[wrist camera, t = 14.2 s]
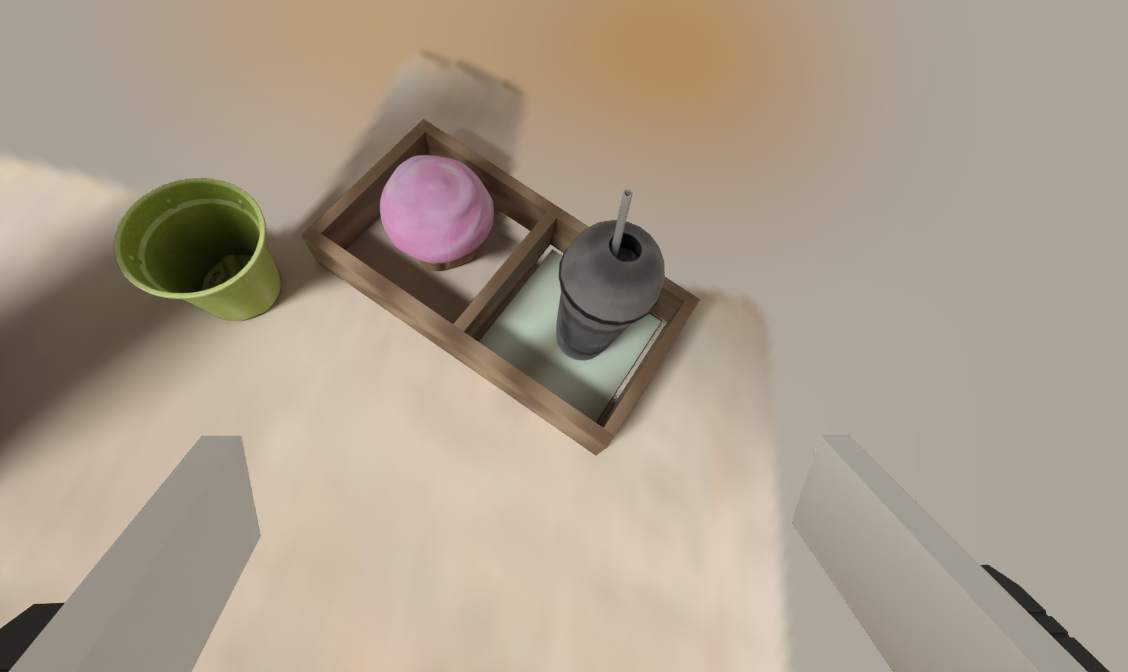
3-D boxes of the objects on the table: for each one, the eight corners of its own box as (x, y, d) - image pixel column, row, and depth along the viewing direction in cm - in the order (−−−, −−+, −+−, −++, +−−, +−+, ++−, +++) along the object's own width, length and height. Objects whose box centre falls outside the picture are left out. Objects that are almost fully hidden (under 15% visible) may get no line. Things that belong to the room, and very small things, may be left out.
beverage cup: (597, 391, 46) (677, 288, 28) (524, 347, 47) (555, 217, 28) (635, 325, 49) (731, 191, 31) (566, 284, 50) (619, 128, 31)
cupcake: (509, 265, 50) (515, 203, 41) (423, 310, 47) (409, 254, 38) (458, 192, 52) (454, 117, 42) (373, 232, 49) (348, 160, 40)
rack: (317, 262, 47) (301, 235, 43) (428, 152, 53) (423, 119, 49) (596, 455, 45) (607, 446, 41) (681, 319, 50) (699, 299, 46)
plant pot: (274, 355, 44) (227, 313, 36) (157, 324, 44) (84, 274, 36) (320, 256, 48) (287, 199, 40) (212, 227, 47) (157, 162, 39)
